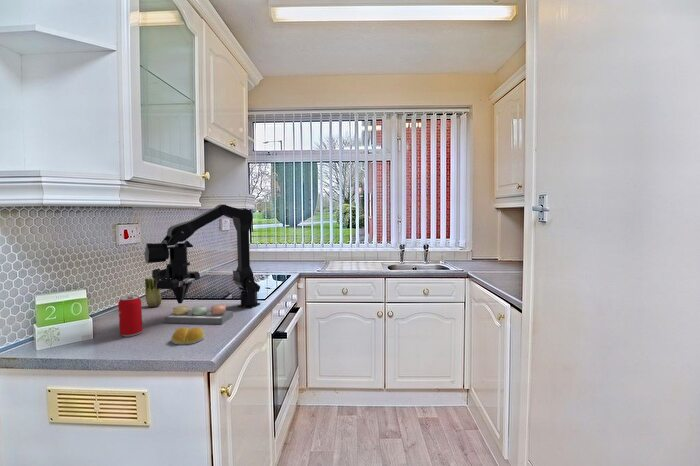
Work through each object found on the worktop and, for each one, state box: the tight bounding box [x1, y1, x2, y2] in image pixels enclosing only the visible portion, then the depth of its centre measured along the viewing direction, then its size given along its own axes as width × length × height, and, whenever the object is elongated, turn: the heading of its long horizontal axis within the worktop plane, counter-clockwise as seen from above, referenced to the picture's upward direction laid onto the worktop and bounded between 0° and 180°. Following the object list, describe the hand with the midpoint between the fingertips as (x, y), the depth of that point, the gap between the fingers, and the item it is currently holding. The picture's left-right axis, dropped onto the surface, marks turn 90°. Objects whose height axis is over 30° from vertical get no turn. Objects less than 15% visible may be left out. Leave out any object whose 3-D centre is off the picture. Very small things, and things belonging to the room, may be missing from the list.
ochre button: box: [172, 305, 189, 315], centre depth 129 cm, size 5×5×2 cm
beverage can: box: [117, 294, 143, 338], centre depth 114 cm, size 6×6×12 cm
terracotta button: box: [210, 304, 227, 314], centre depth 128 cm, size 5×5×2 cm
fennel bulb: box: [144, 277, 162, 308], centre depth 146 cm, size 6×5×12 cm
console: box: [163, 309, 234, 325], centre depth 129 cm, size 9×21×2 cm, turn 85°
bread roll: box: [170, 327, 205, 345], centre depth 109 cm, size 8×9×4 cm
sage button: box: [191, 305, 208, 316], centre depth 129 cm, size 5×5×2 cm
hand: (180, 303), depth 129 cm, fingers closed
